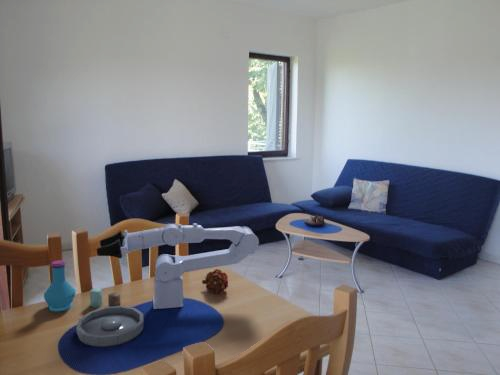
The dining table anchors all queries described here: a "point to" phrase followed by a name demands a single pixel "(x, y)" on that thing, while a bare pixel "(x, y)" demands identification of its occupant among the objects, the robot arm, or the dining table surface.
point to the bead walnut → (114, 299)
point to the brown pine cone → (216, 281)
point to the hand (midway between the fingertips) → (98, 248)
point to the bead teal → (96, 297)
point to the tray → (110, 326)
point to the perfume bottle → (59, 289)
